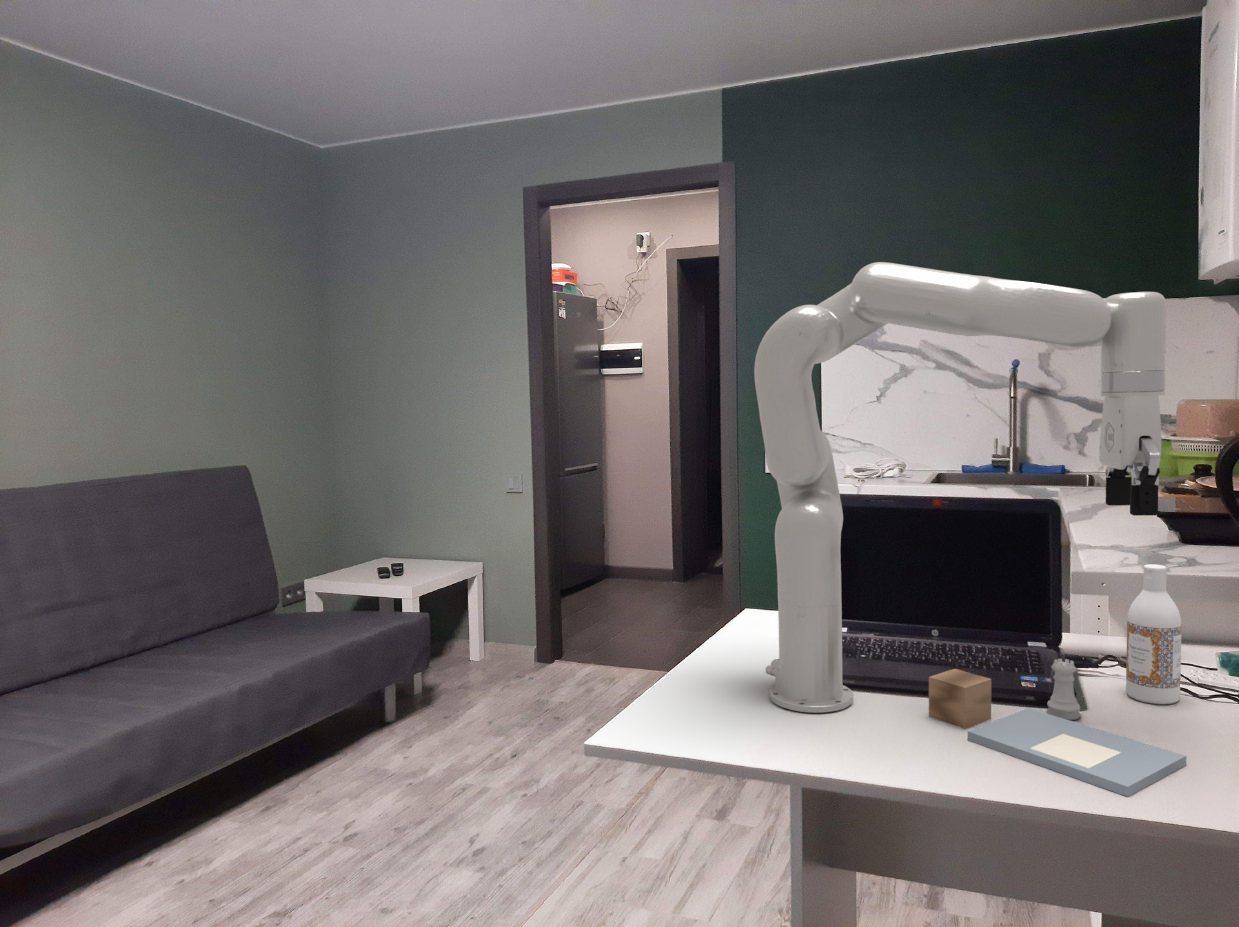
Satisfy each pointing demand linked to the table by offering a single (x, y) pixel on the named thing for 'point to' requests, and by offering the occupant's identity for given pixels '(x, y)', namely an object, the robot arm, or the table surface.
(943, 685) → the walnut cube
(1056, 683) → the rook chess piece
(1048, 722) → the build board
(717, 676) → the table surface
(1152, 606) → the bath foam
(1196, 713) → the table surface
